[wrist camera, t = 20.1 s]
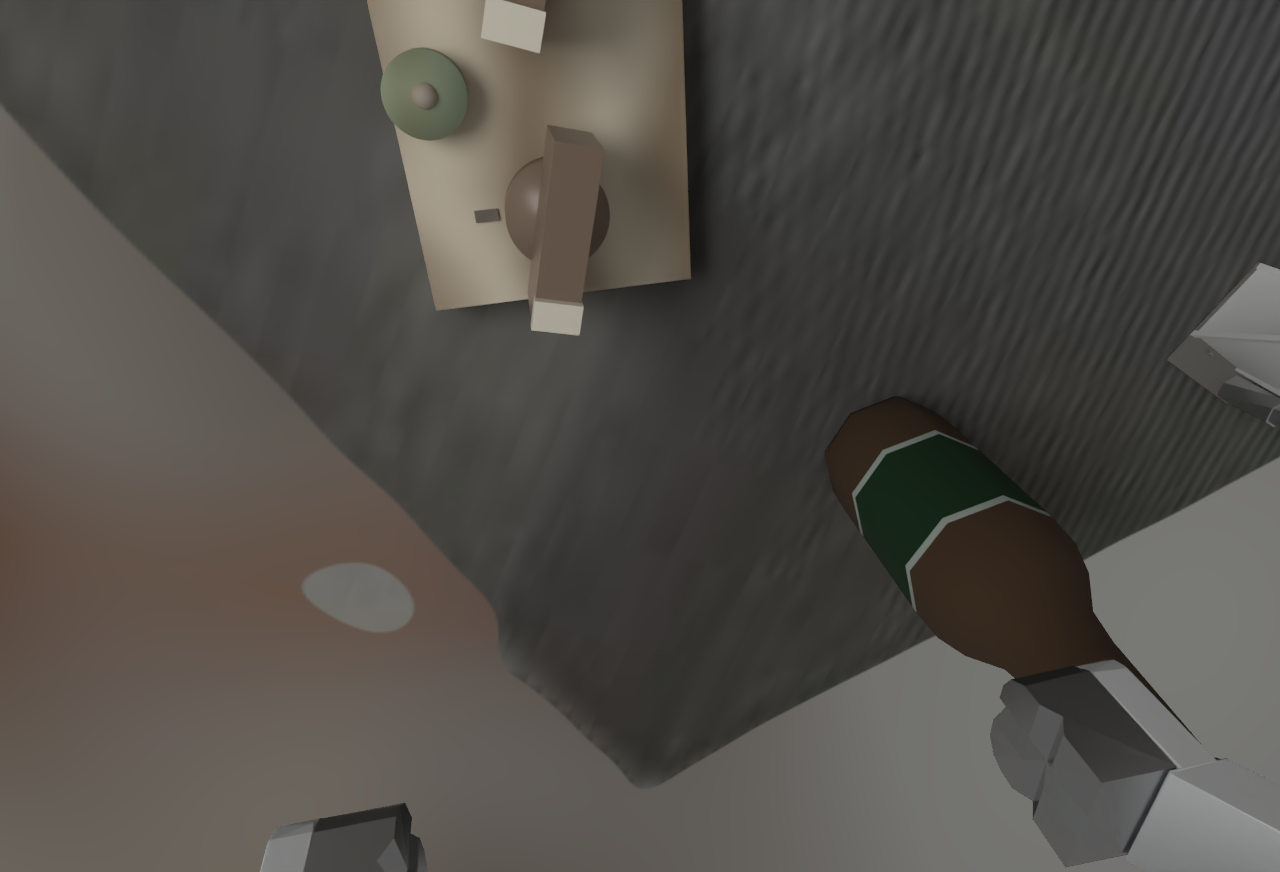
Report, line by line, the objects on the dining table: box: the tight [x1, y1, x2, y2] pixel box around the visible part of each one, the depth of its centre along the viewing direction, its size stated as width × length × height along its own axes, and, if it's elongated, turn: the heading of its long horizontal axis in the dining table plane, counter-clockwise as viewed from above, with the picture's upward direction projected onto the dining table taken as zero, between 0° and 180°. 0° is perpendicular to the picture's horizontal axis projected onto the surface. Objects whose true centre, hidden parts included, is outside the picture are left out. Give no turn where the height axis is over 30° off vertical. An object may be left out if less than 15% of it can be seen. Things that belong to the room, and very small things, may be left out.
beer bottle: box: [825, 397, 1219, 760], centre depth 35 cm, size 8×8×24 cm
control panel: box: [367, 0, 691, 311], centre depth 30 cm, size 12×18×4 cm
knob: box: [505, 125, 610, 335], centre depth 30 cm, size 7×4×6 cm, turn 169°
